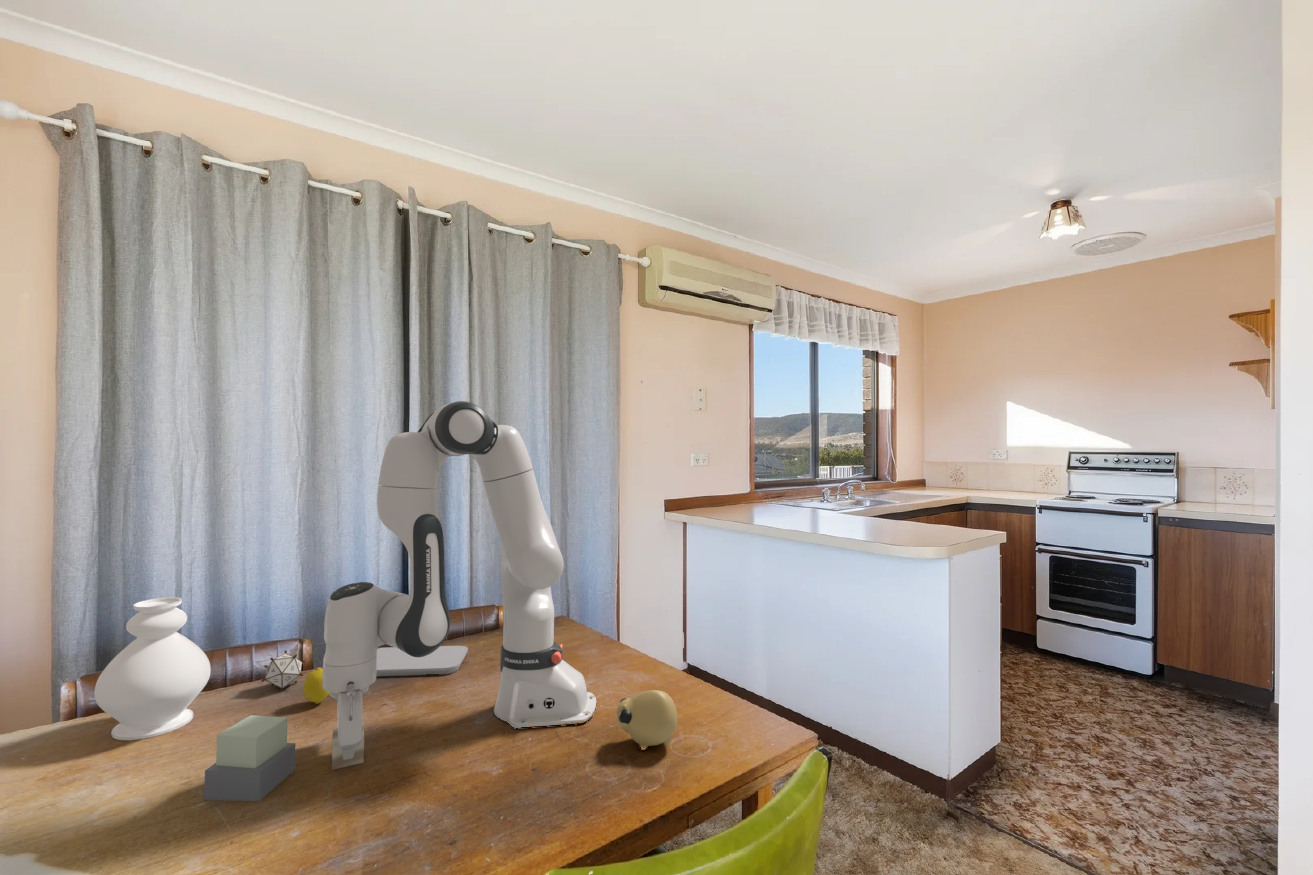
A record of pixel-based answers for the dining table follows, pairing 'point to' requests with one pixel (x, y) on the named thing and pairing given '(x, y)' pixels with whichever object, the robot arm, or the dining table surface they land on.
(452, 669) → the tablet
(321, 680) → the lemon
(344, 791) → the dining table surface
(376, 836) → the dining table surface
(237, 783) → the charcoal base block
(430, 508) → the robot arm
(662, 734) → the toy pig
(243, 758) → the sage top block
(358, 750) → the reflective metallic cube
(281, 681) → the game die
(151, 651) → the decorative vase
